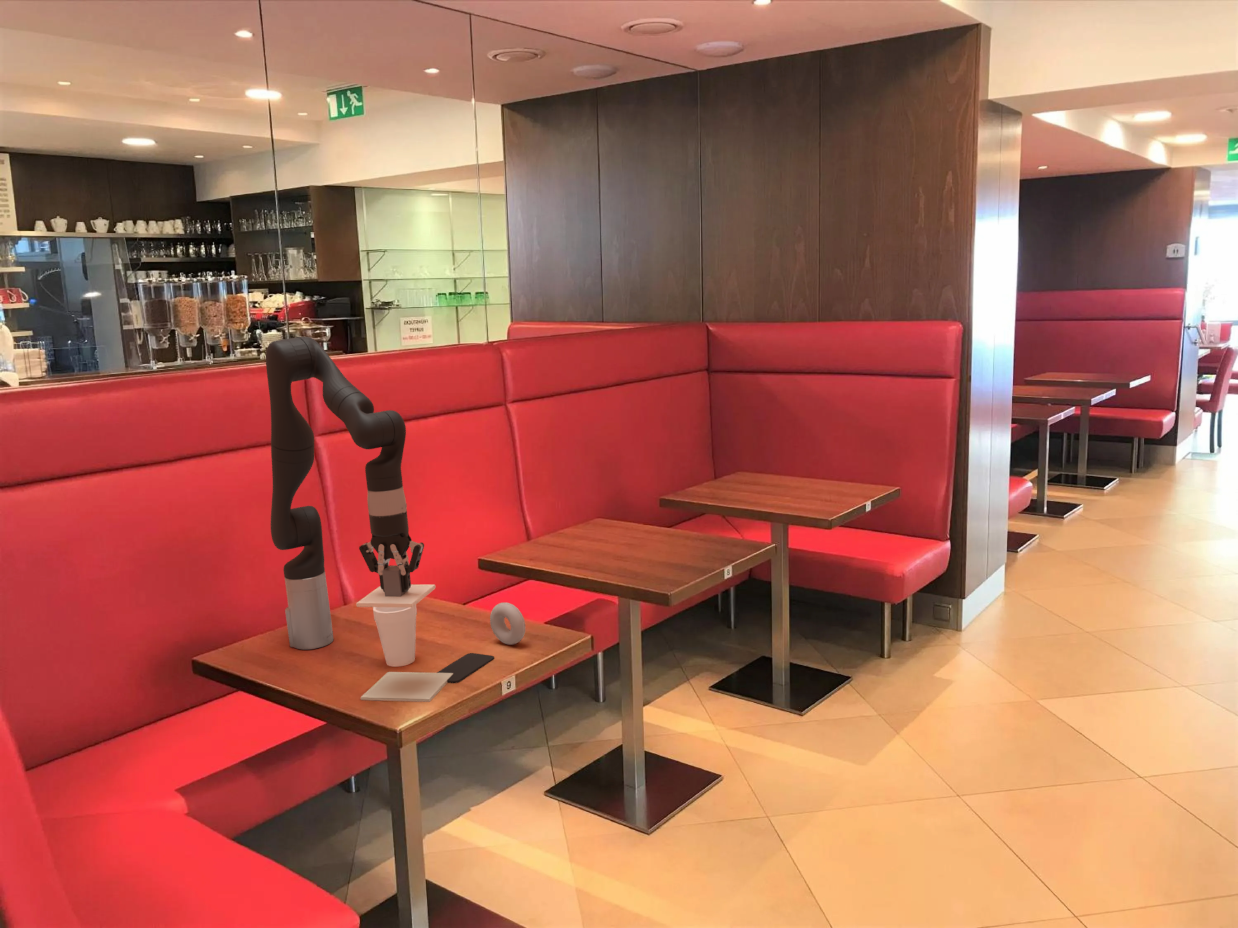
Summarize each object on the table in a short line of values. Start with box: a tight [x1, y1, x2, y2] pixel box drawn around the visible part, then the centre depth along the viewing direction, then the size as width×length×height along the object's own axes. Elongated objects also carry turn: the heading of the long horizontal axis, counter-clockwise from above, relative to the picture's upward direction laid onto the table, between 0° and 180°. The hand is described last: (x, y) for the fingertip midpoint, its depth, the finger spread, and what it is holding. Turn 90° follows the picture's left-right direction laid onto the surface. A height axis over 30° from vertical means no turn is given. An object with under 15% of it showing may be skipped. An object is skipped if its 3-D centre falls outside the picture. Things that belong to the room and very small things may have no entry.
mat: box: [360, 671, 453, 703], centre depth 202 cm, size 15×13×1 cm
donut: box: [489, 602, 526, 646], centre depth 222 cm, size 10×4×10 cm, turn 52°
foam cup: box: [372, 604, 418, 668], centre depth 216 cm, size 10×9×13 cm
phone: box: [436, 652, 495, 684], centre depth 211 cm, size 7×1×15 cm
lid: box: [356, 564, 436, 608], centre depth 199 cm, size 12×12×6 cm
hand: (396, 590), depth 199 cm, fingers closed on lid, 3 cm apart
